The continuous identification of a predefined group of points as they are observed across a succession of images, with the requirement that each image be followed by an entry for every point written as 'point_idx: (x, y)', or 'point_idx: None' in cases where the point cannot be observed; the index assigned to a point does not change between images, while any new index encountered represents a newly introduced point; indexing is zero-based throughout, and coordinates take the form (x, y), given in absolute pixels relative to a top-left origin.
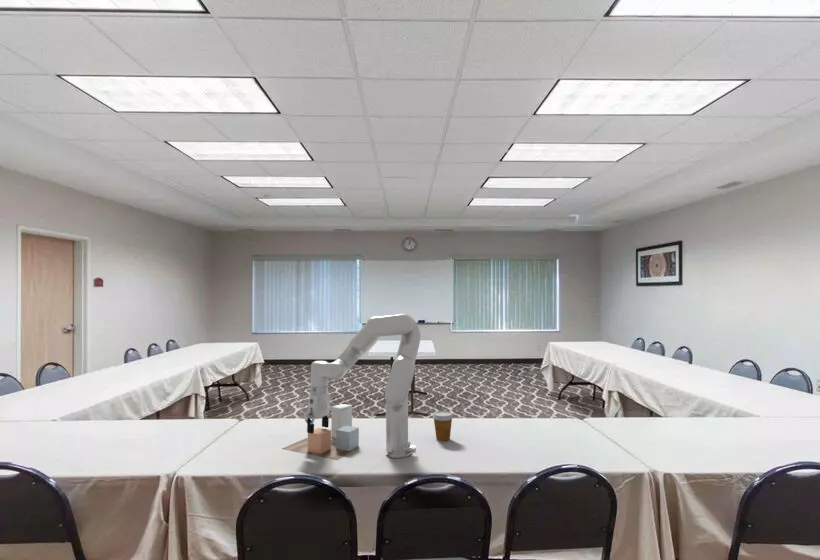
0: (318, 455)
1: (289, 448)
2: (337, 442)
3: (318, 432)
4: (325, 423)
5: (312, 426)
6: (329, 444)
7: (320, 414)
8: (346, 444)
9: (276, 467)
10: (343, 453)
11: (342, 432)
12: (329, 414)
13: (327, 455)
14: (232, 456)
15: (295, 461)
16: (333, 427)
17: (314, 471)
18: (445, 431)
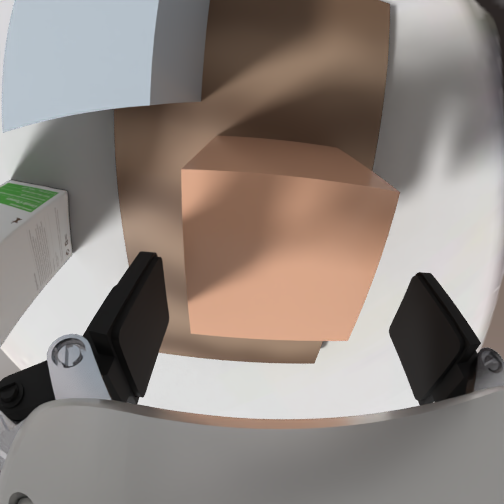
0: (366, 148)
1: (302, 344)
2: (191, 88)
3: (334, 258)
4: (150, 307)
5: (461, 329)
6: (233, 141)
7: (493, 456)
8: (198, 3)
9: (459, 273)
10: (270, 5)
11: (163, 12)
12: (33, 370)
13: (348, 88)
14: (367, 410)
15: (405, 244)
16: (33, 281)
17: (481, 98)
18: None
